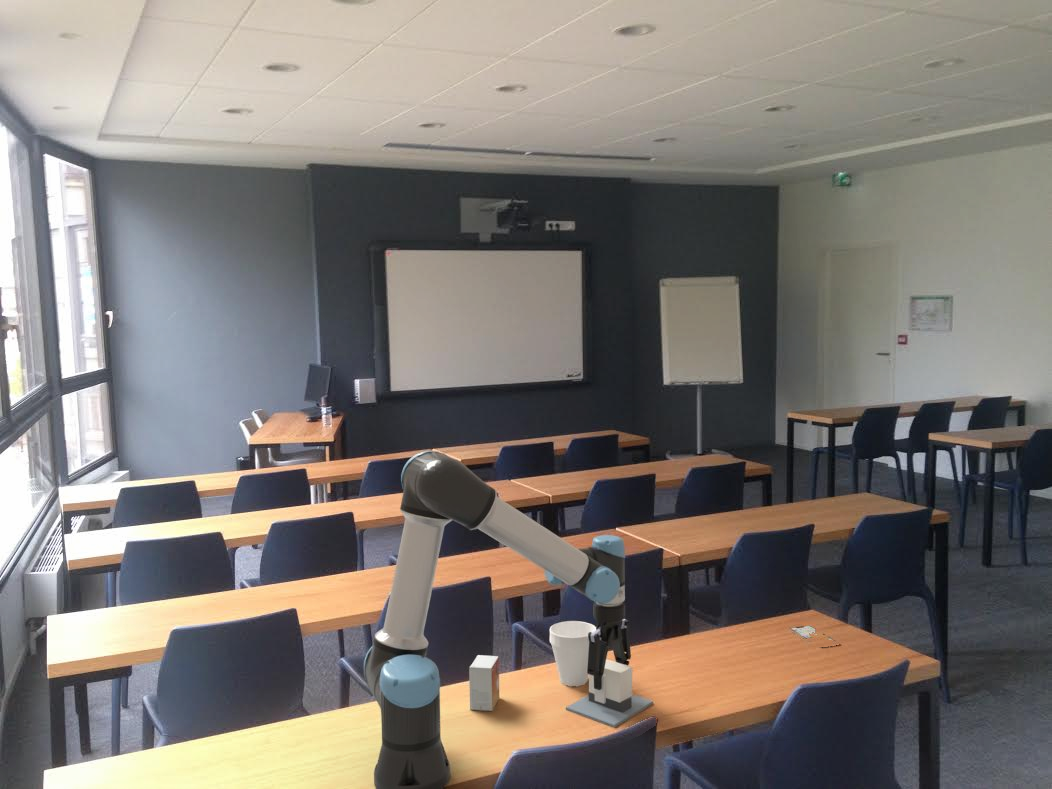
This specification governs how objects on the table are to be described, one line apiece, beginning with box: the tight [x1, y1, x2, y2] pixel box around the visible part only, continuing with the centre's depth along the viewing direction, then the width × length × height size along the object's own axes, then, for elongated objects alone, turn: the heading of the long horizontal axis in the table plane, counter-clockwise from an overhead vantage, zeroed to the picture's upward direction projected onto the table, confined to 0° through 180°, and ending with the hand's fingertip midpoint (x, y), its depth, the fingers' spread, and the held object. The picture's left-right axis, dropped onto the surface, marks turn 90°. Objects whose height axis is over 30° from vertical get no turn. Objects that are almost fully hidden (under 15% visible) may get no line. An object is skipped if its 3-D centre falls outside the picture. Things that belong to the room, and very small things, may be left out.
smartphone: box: [789, 625, 836, 642], centre depth 241 cm, size 7×1×15 cm
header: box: [565, 690, 654, 728], centre depth 198 cm, size 16×14×7 cm
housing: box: [588, 658, 633, 703], centre depth 197 cm, size 5×9×7 cm, turn 48°
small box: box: [468, 654, 500, 712], centre depth 200 cm, size 8×6×10 cm
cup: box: [549, 620, 596, 687], centre depth 212 cm, size 12×12×14 cm
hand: (609, 695), depth 198 cm, fingers open, 7 cm apart
